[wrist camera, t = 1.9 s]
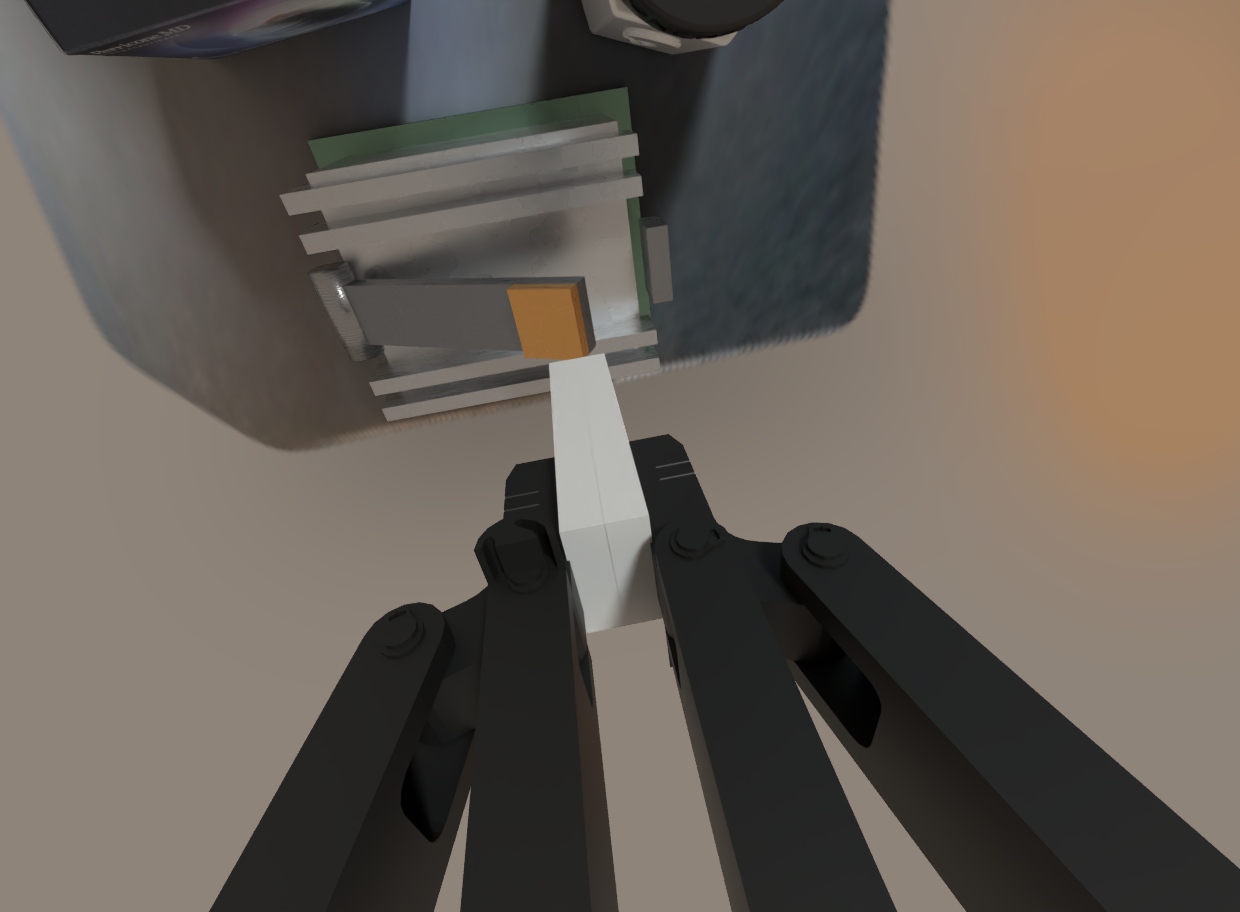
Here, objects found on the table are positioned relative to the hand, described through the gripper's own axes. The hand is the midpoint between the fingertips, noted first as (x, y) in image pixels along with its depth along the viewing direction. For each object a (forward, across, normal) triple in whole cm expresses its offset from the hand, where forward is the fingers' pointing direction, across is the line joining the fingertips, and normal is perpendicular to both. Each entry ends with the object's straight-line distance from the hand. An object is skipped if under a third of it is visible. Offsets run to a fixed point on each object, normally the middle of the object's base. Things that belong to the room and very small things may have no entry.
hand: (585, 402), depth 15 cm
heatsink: (+22, -3, 0) cm, 22 cm away
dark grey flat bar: (+12, -5, -1) cm, 13 cm away
